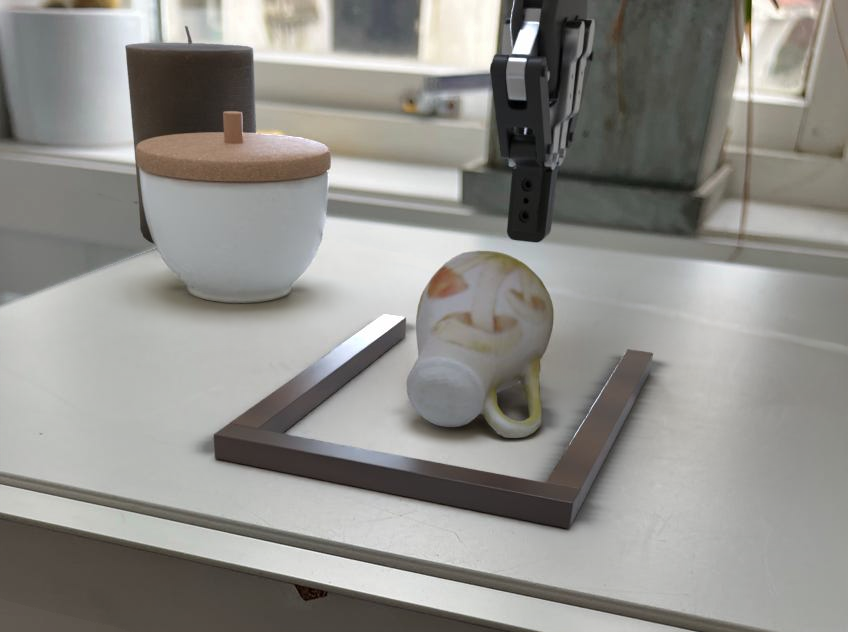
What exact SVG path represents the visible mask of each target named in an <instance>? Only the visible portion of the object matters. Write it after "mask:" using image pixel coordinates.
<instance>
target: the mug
mask: <svg viewBox="0 0 848 632" xmlns="http://www.w3.org/2000/svg"><path fill="white" fill-rule="evenodd" d="M554 313H555V309H554V304H553V300H552V298H551V294H550V292H549V291H548V288H547V287H546V286H545V284H544V282H543V280H542V279H541V278H540V277H539V276H538V274H536V273H535V272H534V271H533V269H531V268H530V267H529V266H528V265H527V264H525V263H524V262H523V261H521V260H519V259H518V258H516V257H515V256H514V257H513V256H511V255H509V254H506V253H503V252H499V251H493V250H471V251H466V252H461V253H459V254H457V255H455V256H453V257H452V258H451V259H450V260H448V261H446V262H445V263H443V265H442V266H441V267H440V268H439V269H438V270H437V271H435V273H434V274H433V275H432V277H431V278H430V280H429V281H428V283H427V284H426V286H425V287H424V289H423V290H422V293H421V295H420V298H419V302H418V304H417V309H416V315H415V316H416V317H415V334H416V343H417V344H416V345H417V351H418V352H417V355H418V356H417V358H416V361H414V364H413V365H412V367H411V369H410V371H409V373H408V375H407V378H406V393H407V397H408V400H409V402H410V404H411V406H412V408H413V409H414V410H415V411H416V413H418V414H419V415H420V416H421V417H422V418H424V419H425V420H426V421H428V422H429V423H431V424H433V425H436V426H438V427H443V428H459V427H463V426H465V425H468V424H470V423H471V422H472V421H474V420H475V418H477V417H478V416H479V415H482V416H483V418H484V419H485V420H486V422H487V424H488V425H489V426H490V427H491V428H492V429H493V430H494V431H495V432H496V435H499V436H502V437H503V438H507V439H509V438H510V439H519V438H526V437H528V436H530V435H532V434H534V433H535V432H537V430H538V429H539V428H540V427H541V425H542V422H543V416H544V415H543V414H544V410H543V405H542V399H541V382H540V372H541V368H542V367H541V366H542V365H541V359H542V358H543V357H544V355H545V352H546V351H547V349H548V346H549V343H550V340H551V337H552V333H553V329H554V319H555V318H554V317H555V316H554V315H555V314H554ZM519 382H520V383H521V386H522V389H523V392H524V396H525V400H526V404H527V410H528V417H527V418H526V419H524V420H516V419H512V418H510V417H509V416H507V415H505V414H504V413H503V411H502V410H501V408H500V406H499V405H498V395H497V394H498V393H501V392H503V391H505V390H508V389H510V388H511V387H513V386H515V385H517V384H518V383H519Z"/></svg>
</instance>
